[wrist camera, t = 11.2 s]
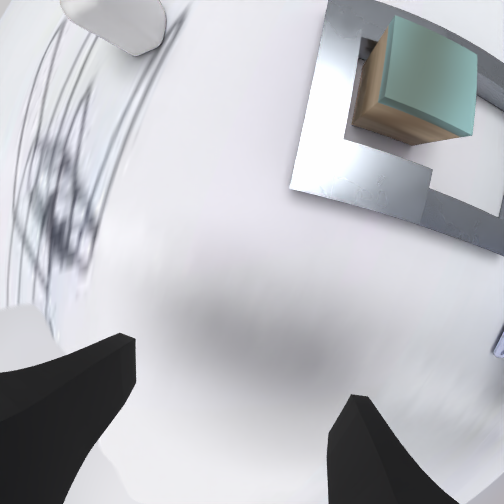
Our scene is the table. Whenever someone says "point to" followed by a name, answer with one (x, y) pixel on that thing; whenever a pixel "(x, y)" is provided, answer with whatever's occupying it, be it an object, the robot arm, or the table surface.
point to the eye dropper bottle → (120, 21)
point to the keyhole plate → (372, 160)
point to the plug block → (417, 86)
